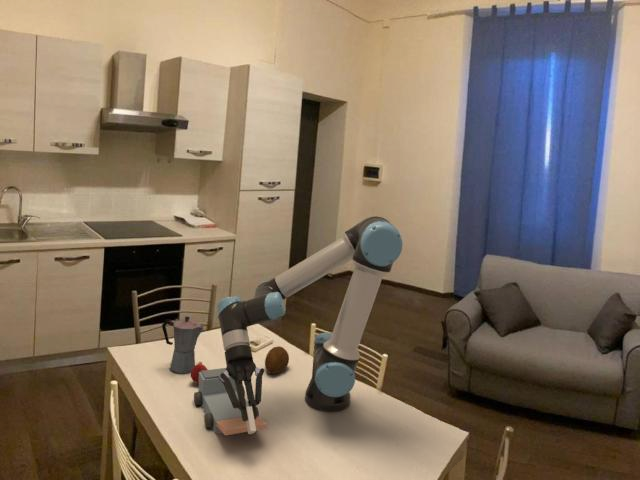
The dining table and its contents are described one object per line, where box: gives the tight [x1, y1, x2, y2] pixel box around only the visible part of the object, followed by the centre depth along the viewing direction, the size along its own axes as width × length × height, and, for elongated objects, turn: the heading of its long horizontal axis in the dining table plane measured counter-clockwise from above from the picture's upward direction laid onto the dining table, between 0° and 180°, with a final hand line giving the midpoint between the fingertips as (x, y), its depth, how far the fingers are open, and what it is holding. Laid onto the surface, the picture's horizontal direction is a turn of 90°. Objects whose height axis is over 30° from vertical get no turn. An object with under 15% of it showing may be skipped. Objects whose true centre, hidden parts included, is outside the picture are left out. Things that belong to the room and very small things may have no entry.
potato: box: [264, 346, 290, 375], centre depth 198 cm, size 8×12×9 cm
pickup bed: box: [193, 367, 260, 434], centre depth 165 cm, size 22×16×10 cm
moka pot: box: [161, 316, 205, 374], centre depth 192 cm, size 10×15×20 cm, turn 89°
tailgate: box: [216, 416, 268, 436], centre depth 151 cm, size 2×12×10 cm
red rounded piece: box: [189, 361, 208, 385], centre depth 183 cm, size 6×6×8 cm
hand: (252, 432), depth 142 cm, fingers closed
